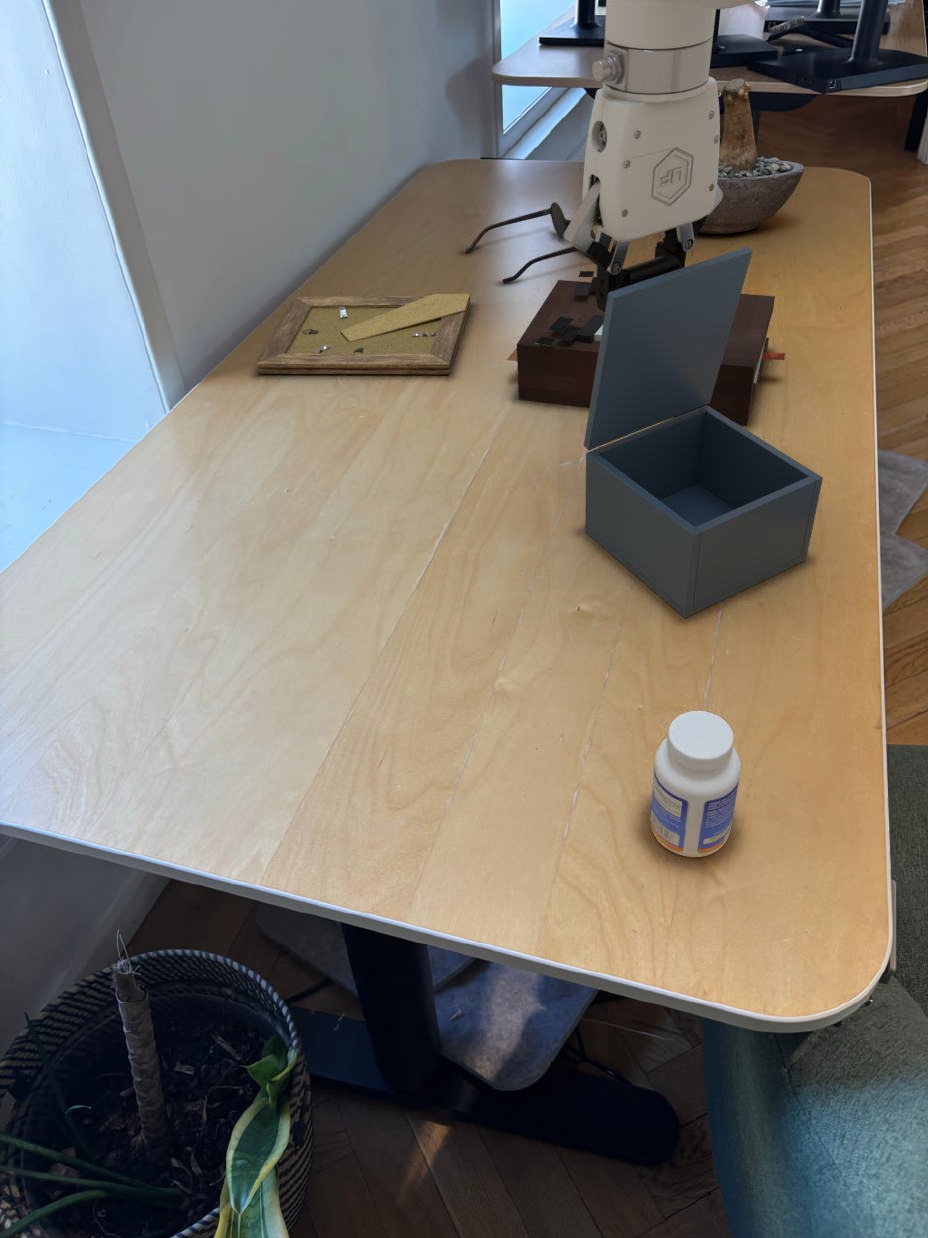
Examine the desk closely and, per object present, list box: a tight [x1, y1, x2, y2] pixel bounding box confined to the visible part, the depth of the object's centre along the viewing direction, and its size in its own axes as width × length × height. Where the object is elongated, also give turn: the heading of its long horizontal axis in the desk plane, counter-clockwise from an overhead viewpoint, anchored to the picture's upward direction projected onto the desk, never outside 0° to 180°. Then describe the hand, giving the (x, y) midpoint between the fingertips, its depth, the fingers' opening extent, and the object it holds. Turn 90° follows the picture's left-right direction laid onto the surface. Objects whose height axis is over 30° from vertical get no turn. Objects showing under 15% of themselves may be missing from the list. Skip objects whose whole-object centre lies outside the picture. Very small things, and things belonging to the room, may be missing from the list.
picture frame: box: [256, 293, 472, 375], centre depth 125 cm, size 19×2×24 cm
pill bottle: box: [649, 710, 742, 858], centre depth 65 cm, size 5×5×10 cm
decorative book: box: [506, 270, 786, 426], centre depth 112 cm, size 19×8×30 cm
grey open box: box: [584, 405, 824, 619], centre depth 87 cm, size 15×14×9 cm
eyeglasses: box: [465, 201, 596, 284], centre depth 140 cm, size 15×15×5 cm
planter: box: [698, 78, 805, 235], centre depth 137 cm, size 15×17×20 cm
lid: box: [583, 246, 754, 451], centre depth 84 cm, size 15×14×5 cm
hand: (639, 301), depth 83 cm, fingers open, 5 cm apart
